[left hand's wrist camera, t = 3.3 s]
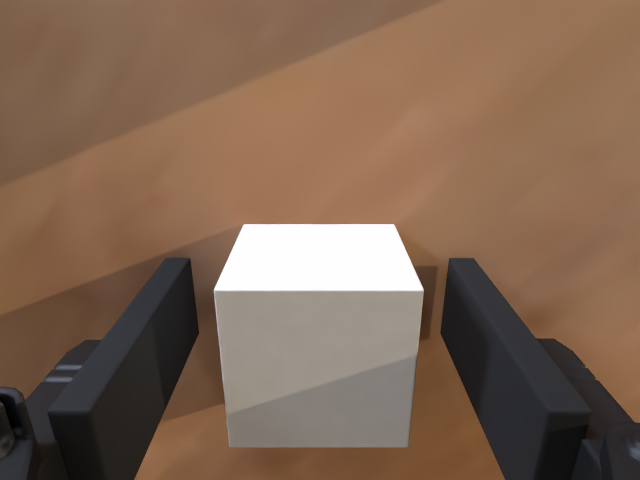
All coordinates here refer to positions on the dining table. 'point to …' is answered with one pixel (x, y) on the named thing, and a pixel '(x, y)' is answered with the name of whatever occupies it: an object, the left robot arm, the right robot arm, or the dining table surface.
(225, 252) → the dining table surface
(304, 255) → the block
